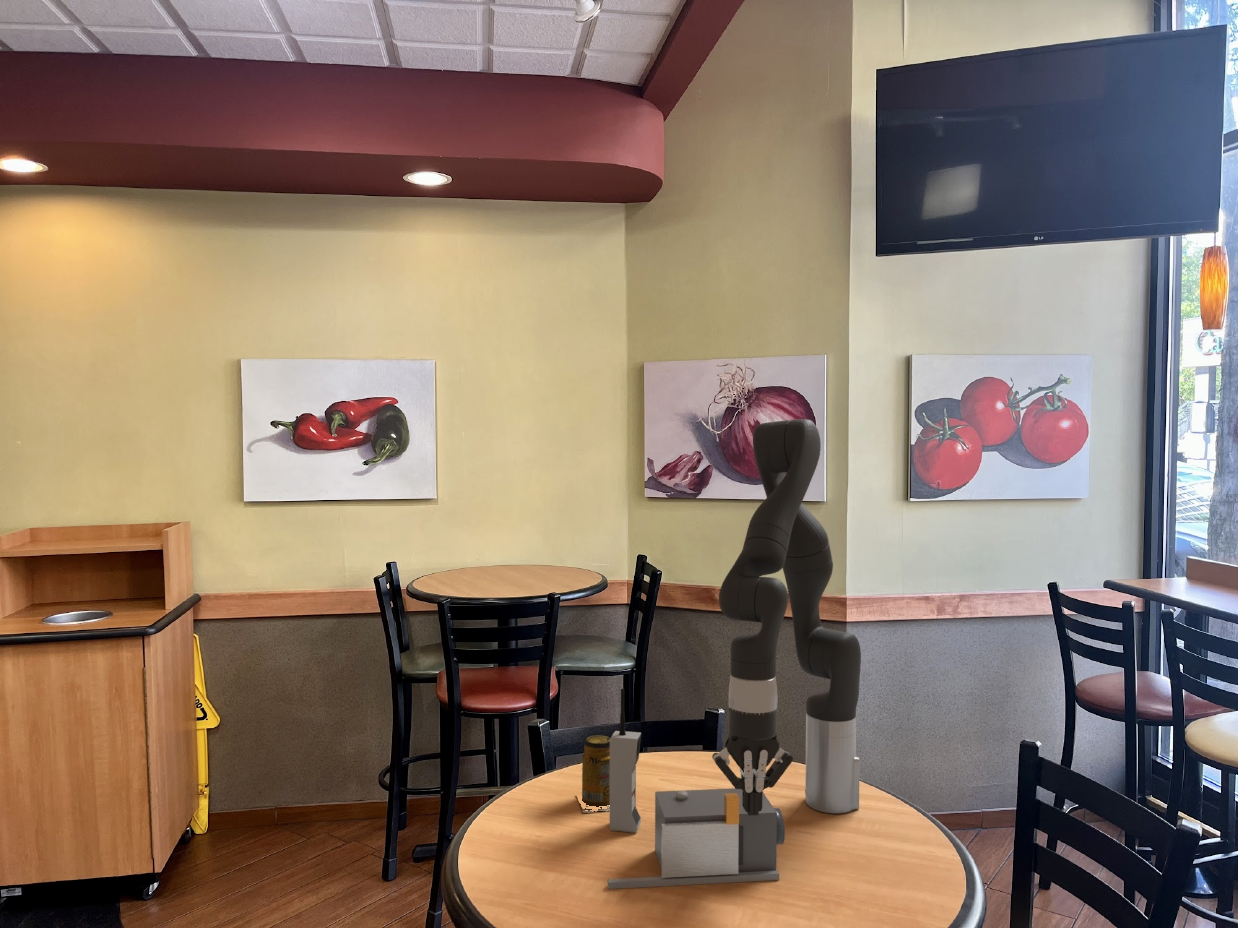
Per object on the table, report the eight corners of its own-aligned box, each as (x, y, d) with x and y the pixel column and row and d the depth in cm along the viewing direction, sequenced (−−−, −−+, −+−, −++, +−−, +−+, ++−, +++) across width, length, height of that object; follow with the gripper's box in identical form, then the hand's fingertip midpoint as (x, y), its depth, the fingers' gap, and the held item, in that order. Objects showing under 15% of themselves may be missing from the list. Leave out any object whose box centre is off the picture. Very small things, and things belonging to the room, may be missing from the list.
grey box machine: (770, 844, 145) (771, 782, 145) (791, 879, 133) (792, 811, 133) (601, 852, 142) (602, 788, 142) (608, 888, 130) (608, 819, 130)
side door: (736, 869, 134) (736, 792, 134) (738, 874, 132) (739, 797, 132) (661, 873, 132) (661, 796, 132) (662, 878, 131) (663, 800, 131)
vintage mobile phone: (637, 833, 149) (637, 692, 148) (609, 830, 150) (609, 690, 149) (640, 824, 153) (641, 686, 152) (613, 821, 154) (614, 684, 153)
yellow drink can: (611, 792, 167) (612, 732, 166) (621, 810, 158) (621, 746, 158) (575, 795, 165) (575, 734, 165) (582, 814, 157) (583, 749, 157)
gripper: (786, 695, 137) (785, 801, 137) (706, 697, 135) (705, 805, 136) (801, 709, 130) (800, 821, 130) (716, 712, 128) (716, 825, 128)
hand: (752, 813), depth 133 cm, fingers closed
